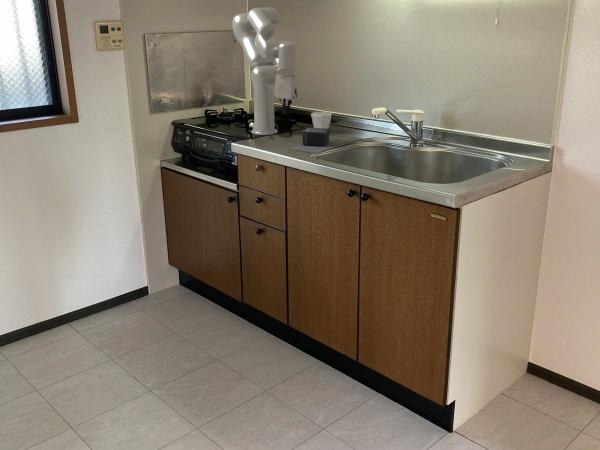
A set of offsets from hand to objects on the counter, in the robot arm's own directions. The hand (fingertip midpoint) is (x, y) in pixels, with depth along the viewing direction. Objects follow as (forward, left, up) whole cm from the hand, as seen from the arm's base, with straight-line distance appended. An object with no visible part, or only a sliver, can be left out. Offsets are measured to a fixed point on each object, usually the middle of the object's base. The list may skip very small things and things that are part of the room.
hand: (286, 113), depth 280 cm
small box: (+10, +1, -9) cm, 13 cm away
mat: (+18, 0, -13) cm, 22 cm away
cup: (0, +28, -13) cm, 30 cm away
